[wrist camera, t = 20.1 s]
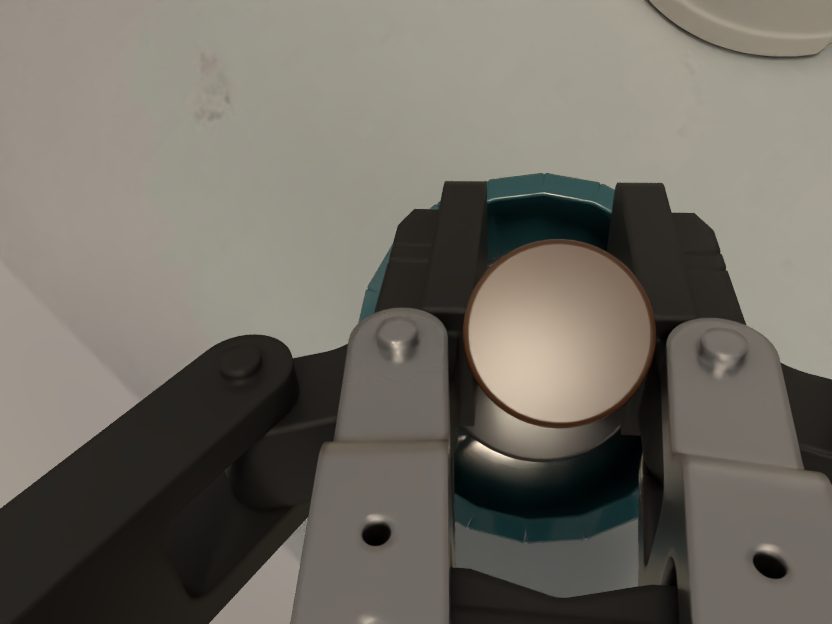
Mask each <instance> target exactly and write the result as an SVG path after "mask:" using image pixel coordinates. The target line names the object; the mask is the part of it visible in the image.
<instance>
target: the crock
mask: <svg viewBox="0 0 832 624" xmlns="http://www.w3.org/2000/svg"><path fill="white" fill-rule="evenodd" d="M484 182H487V263H488V262H490V261H491V260H494V259H496V258H498V257H501V256H503V255H506V254H507V253H509V252H511V251H512V250H514V249H517V248H519V247H521V246H523V245H526V244H530V243H533V242H536V241H542V240H549V239H566V240H575V241H580V242H584V243H588V244H590V245H593V246H596V247H598V248H600V249H602V250H604V251H606V252H607V245H608V237H609V230H610V222H611V214H612V206H613V198H614V192H615V190H614V189H612V188H610V187H608V186H606V185H604V184H601V185H600V183H599V182H594V181H588V180H583V179H577V178H571V177H566V176H560V175H555V174H549V173H546V174H543V173H537V174H530V175H522V176H514V177H506V178H498V179H490V180H489V181H484ZM440 202H441V201H440ZM440 202H438V203H437V205H434V206H433V207H432V208H430V209H439V207H440ZM392 247H393V244H392V246H391V248H390V249H389V251H388V253H387V254H386V256H385V258H384V260H383V261H382V263H381V265H380V266H379V268H378V270H377V271H376V273H375V275H374V277H373V278H372V280H371V282H370V283H369V285H368V289H367V290H366V292H365V296H364V301H363V305H362V309H361V314H360V318H359V322H358V324H359V323H360V322H361V321H362V320H363V319H365V318H366V317H368V316H370V315H372V314H374V311H375V307H376V304H377V300H378V296H379V293H380V289H381V286H382V282H383V278H384V275H385V271H386V267H387V264H388V263H389V257H390V253H391V249H392ZM642 454H643V447H642V441H641V436H635V435H621V429H620V430H619V431H618V432H617V433H616V434H615V435H614V436H613V437H611V438H610V439H609V440H607V441H606V442H605V443H604V444H602V445H601V446H599V447H597V448H595V449H593V450H592V451H590V452H588V453H585V454H583V455H580V456H578V457H575V458H571V459H567V460H563V461H555V462H530V461H523V460H518V459H514V458H511V457H507V456H504V455H502V454H500V453H497V452H495V451H493V450H491V449H489V448H487V447H486V446H484V445H482V444H481V443H479V442H478V441H477V440H476V439H474V438H473V437H472V436H470V435H469V434H468V433H467V432H466V431H465V430H464V429H463V428H462V427H461V426H460V425H459V431H458V440H457V447H456V451H455V453H454V455H453V457H454V501H455V521H456V522H458V523H459V524H461V525H462V526H464V527H466V528H467V527H468V528H469V529H471V530H475V531H478V532H482V533H486V534H490V535H494V536H498V537H502V538H505V539H509V540H513V541H517V542H521V543H525V542H526V543H528V544H529V543H545V542H561V541H577V540H584V539H585V538H586V539H589V538H592V537H594V536H597V535H599V534H602V533H604V532H607V531H609V530H612V529H614V528H617V527H619V526H621V525H624V524H626V523H629V522H631V521H634V520H636V519H638V475H639V468H640V464H641V459H642Z"/></svg>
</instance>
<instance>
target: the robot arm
mask: <svg viewBox="0 0 832 624" xmlns="http://www.w3.org/2000/svg"><path fill="white" fill-rule="evenodd" d="M607 252H608V253H610V254H611V255H613V256H614V257H616V258H617V259H618V260H620V261H621V262H622V263H623V264H624V265H625V266H627V267H628V268H629V269H630V270H631V272H632V273H633V274H634V275H635V276H636V278H637V279H638V280H639V282H640V283H641V285H642V287H643V288H644V290H645V292H646V294H647V296H648V298H649V300H650V303H651V307H652V310H653V313H654V319H655V325H656V343H655V352H654V356H653V360H652V364H651V366H650V369H649V371H648V374H647V376H646V378H645V379H644V381H643V383H642V385H641V386H640V388H639V389H638V390H637V391H636V393H635V394H634V395H633V397H632V398H631V399H630V400H629V401H628V402H627V403H626V404H625V405H623V406H622V407H621V408H619V409H618V411H619V420H620V428H621V435H635V436H641V441H642V447H643V454H642V459H641V464H640V468H639V475H638V542H639V579H638V587H633V588H626V589H620V590H614V591H608V592H601V593H595V594H589V595H583V596H576V597H570V598H558V597H553V596H550V595H547V594H544V593H541V592H538V591H535V590H532V589H529V588H526V587H523V586H520V585H517V584H514V583H511V582H508V581H505V580H502V579H499V578H496V577H493V576H490V575H487V574H484V573H481V572H478V571H475V570H472V569H465V568H456V558H455V501H454V457H453V455H454V453H455V451H456V447H457V440H458V431H459V425H463V426H474V421H475V409H476V398H477V387H478V383H477V382H476V380H475V378H474V377H473V375H472V373H471V370H470V368H469V365H468V363H467V359H466V356H465V352H464V345H463V321H464V314H465V310H466V307H467V303H468V301H469V298H470V296H471V293H472V291H473V290H474V288H475V286H476V284H477V282H478V281H479V280H480V278H481V277H482V276H483V274H484V273H485V272H486V271H487V182H481V181H445V183H444V187H443V192H442V197H441V202H440V207H439V209H414V210H413V211H412V212H411V213H410V214H409V215H408V216H407V217H406V218H405V219H404V220H403V221H402V222H401V223H400V224H399V225H398V228H397V231H396V235H395V238H394V242H393V247H392V249H391V253H390V257H389V263H388V264H387V267H386V271H385V275H384V278H383V282H382V286H381V289H380V293H379V296H378V300H377V304H376V307H375V311H374V314H372V315H370V316H368V317H366V318H365V319H363V320H362V321H361V322H360V323H359V324H357V326H356V327H355V328H354V329H353V331H352V333H351V335H350V338H349V343H348V344H346V345H344V346H342V347H340V348H337V349H334V350H331V351H327V352H323V353H318V354H313V355H308V356H303V357H298V358H292V355H291V352H290V350H289V348H288V347H287V346H286V345H285V344H284V343H283V342H281V341H279V340H278V339H275V338H273V337H270V336H265V335H243V336H238V337H234V338H230V339H228V340H225V341H222V342H220V343H218V344H216V345H214V346H213V347H211V348H210V349H209V350H207V351H206V352H204V353H203V354H202V355H201V356H199V357H198V358H197V359H195V360H194V361H193V362H191V363H190V364H189V365H187V366H186V367H185V368H184V369H182V370H181V371H180V372H178V373H177V374H176V375H174V376H173V377H172V378H170V379H169V380H168V381H167V382H165V383H164V384H163V385H161V386H160V387H159V388H157V389H156V390H155V391H153V392H152V393H151V394H150V395H148V396H147V397H146V398H144V399H143V400H142V401H140V402H139V403H138V404H136V405H135V406H134V407H133V408H131V409H130V410H129V411H127V412H126V413H125V414H124V415H122V416H121V417H119V418H118V419H117V420H116V421H114V422H113V423H112V424H110V425H109V426H108V427H107V428H105V429H104V430H102V432H100V433H99V434H97V435H96V436H95V437H93V438H92V439H91V440H89V441H88V442H87V443H86V444H84V445H83V446H82V447H80V448H79V449H78V450H76V451H75V452H74V453H72V454H71V455H70V456H68V457H67V458H66V459H65V460H63V461H62V462H61V463H59V464H58V465H57V466H55V467H54V468H53V469H52V470H50V471H49V472H48V473H46V474H45V475H44V476H42V477H41V478H40V479H38V480H37V481H36V482H34V483H33V484H32V485H31V486H29V487H28V488H27V489H25V490H24V491H23V492H22V493H20V494H19V495H18V496H16V497H15V498H14V499H12V500H11V501H10V502H8V503H7V504H6V505H4V506H3V507H2V508H1V509H0V624H209V623H210V622H211V621H212V620H213V618H214V617H215V616H216V615H217V614H218V613H219V612H220V611H221V610H222V609H223V608H224V607H225V606H226V604H227V603H228V602H229V601H230V600H231V599H232V598H233V597H234V596H235V595H236V594H237V593H238V591H239V590H240V589H241V588H242V587H243V586H244V585H245V584H246V583H247V582H248V581H249V580H250V579H251V577H252V576H253V575H254V574H255V573H256V572H257V571H258V570H259V569H260V568H261V567H262V565H264V564H265V562H266V561H267V560H268V559H269V558H270V557H271V556H272V555H273V554H274V553H275V552H276V551H277V550H278V548H279V547H280V546H281V545H282V544H283V543H284V542H285V541H286V540H287V539H288V538H289V537H290V536H291V534H292V533H293V532H294V531H295V530H296V529H297V528H298V527H299V526H300V525H301V524H302V523H303V522H304V520H305V519H306V518H307V517H308V522H307V528H306V534H305V540H304V545H303V551H302V557H301V563H300V569H299V575H298V582H297V587H296V593H295V599H294V605H293V611H292V617H291V622H290V624H832V380H831V379H827V378H824V377H820V376H816V375H812V374H808V373H805V372H802V371H798V370H796V369H793V368H791V367H788V366H786V365H784V364H782V363H780V358H779V355H778V353H777V351H776V349H775V347H774V346H773V344H772V343H771V342H770V341H769V340H768V339H767V338H766V337H764V336H763V335H762V334H761V333H759V332H757V331H756V330H754V329H752V328H750V327H748V326H746V323H745V320H744V317H743V314H742V312H741V309H740V306H739V303H738V300H737V297H736V294H735V291H734V288H733V286H732V283H731V280H730V277H729V274H728V271H726V265H725V262H724V259H723V257H722V254H720V248H719V245H718V242H717V239H716V236H715V233H714V231H713V230H712V229H711V228H710V227H709V226H708V225H707V224H706V223H705V222H704V221H702V220H701V219H700V218H699V217H698V216H697V215H696V214H695V213H671V209H670V206H669V202H668V198H667V195H666V191H665V187H664V185H663V183H617V184H616V187H615V192H614V198H613V206H612V214H611V222H610V230H609V237H608V245H607Z"/></svg>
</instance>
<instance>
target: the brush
mask: <svg viewBox="0 0 832 624" xmlns="http://www.w3.org/2000/svg"><path fill="white" fill-rule="evenodd" d="M655 343H656V325H655V319H654V313H653V310H652V307H651V303H650V300H649V298H648V296H647V294H646V292H645V290H644V288H643V287H642V285H641V283H640V282H639V280H638V279H637V278H636V276H635V275H634V274H633V273H632V272H631V270H630V269H629V268H628V267H627V266H625V265H624V264H623V263H622V262H621V261H620V260H618V259H617V258H616V257H614V256H613V255H611V254H610V253H608V252H606V251H604V250H602V249H600V248H598V247H596V246H593V245H590V244H588V243H584V242H580V241H575V240H566V239H549V240H542V241H536V242H533V243H530V244H526V245H523V246H521V247H519V248H517V249H514V250H512V251H511V252H509V253H507V254H506V255H503V256H501V257H498V258H496V259H494V260H491V261H490V262H488V263H487V271H486V272H485V273H484V274H483V276H482V277H481V278H480V280H479V281H478V282H477V284H476V286H475V288H474V290H473V291H472V293H471V296H470V298H469V301H468V303H467V307H466V310H465V314H464V321H463V345H464V352H465V356H466V359H467V363H468V365H469V368H470V370H471V373H472V375H473V377H474V378H475V380H476V382H477V383H478V387H477V398H476V409H475V421H474V426H463V425H460V426H461V427H462V428H463V429H464V430H465V431H466V432H467V433H468V434H469V435H470V436H472V437H473V438H474V439H476V440H477V441H478V442H479V443H481V444H482V445H484V446H486V447H487V448H489V449H491V450H493V451H495V452H497V453H500V454H502V455H504V456H507V457H511V458H514V459H518V460H523V461H530V462H555V461H563V460H567V459H571V458H575V457H578V456H580V455H583V454H585V453H588V452H590V451H592V450H593V449H595V448H597V447H599V446H601V445H602V444H604V443H605V442H606V441H607V440H609V439H610V438H611V437H613V436H614V435H615V434H616V433H617V432H618V431H619V430H620V429H621V428H620V420H619V411H618V409H619V408H621V407H622V406H623V405H625V404H626V403H627V402H628V401H629V400H630V399H631V398H632V397H633V395H634V394H635V393H636V391H637V390H638V389H639V388H640V386H641V385H642V383H643V381H644V379H645V378H646V376H647V374H648V371H649V369H650V366H651V364H652V360H653V356H654V352H655Z"/></svg>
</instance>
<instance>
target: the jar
mask: <svg viewBox="0 0 832 624" xmlns="http://www.w3.org/2000/svg"><path fill="white" fill-rule="evenodd" d="M649 1H650V2H651V3H652V4H653V5H654V6H655V7H656V8H657V9H658V10H659V11H660V12H661V13H663V14H664V15H665V16H666V17H667V18H669V19H670V20H671V21H673V22H674V23H675V24H677V25H678V26H680V27H681V28H683V29H684V30H686V31H688V32H690V33H691V34H693V35H695V36H697V37H699V38H701V39H703V40H706V41H708V42H710V43H713V44H716V45H718V46H721V47H724V48H728V49H731V50H735V51H739V52H744V53H749V54H756V55H764V56H804V55H813V54H817V53H819V52H820V51H821V50H823V49H824V48H825V47H826V46H827V45H828V44H830V43H831V42H832V0H649Z"/></svg>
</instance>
